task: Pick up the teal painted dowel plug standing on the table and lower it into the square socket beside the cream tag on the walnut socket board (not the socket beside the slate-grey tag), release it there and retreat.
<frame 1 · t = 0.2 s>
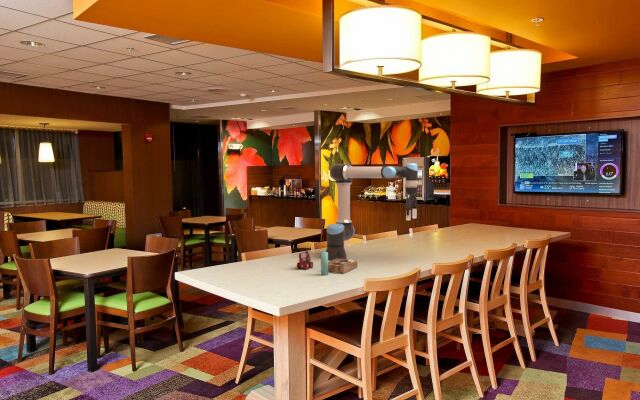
hand: (411, 219, 315), 28 cm above the table, fingers open, 13 cm apart
plug: (324, 274, 278), on the table
dark red rounded figure: (305, 268, 296), on the table
socket board: (340, 269, 292), on the table
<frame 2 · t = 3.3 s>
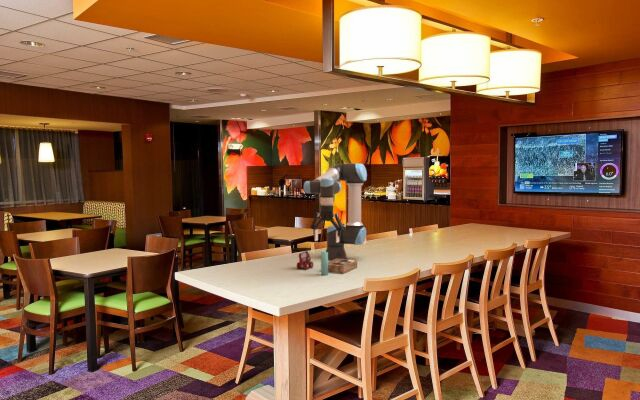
hand: (326, 241, 277), 19 cm above the table, fingers open, 13 cm apart
nothing on the table moved.
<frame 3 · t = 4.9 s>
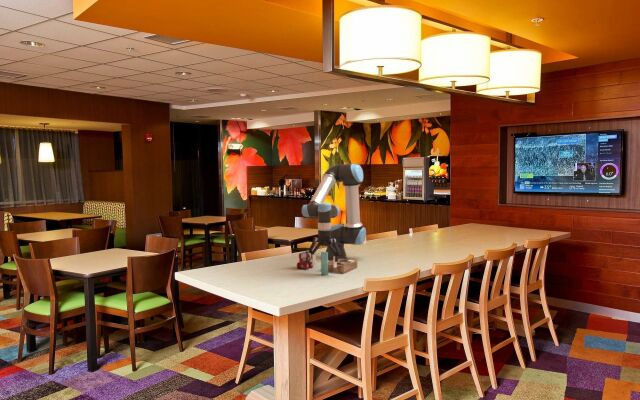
hand: (324, 266, 277), 5 cm above the table, fingers open, 13 cm apart
nothing on the table moved.
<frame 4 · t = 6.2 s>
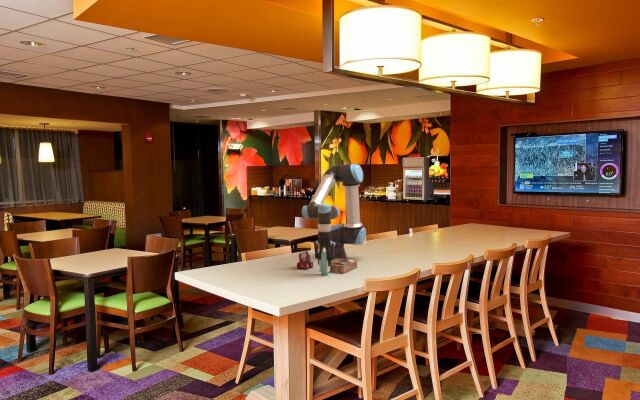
hand: (324, 271, 278), 2 cm above the table, fingers closed on plug, 4 cm apart
plug: (324, 274, 278), on the table, touching gripper
everything else where it was.
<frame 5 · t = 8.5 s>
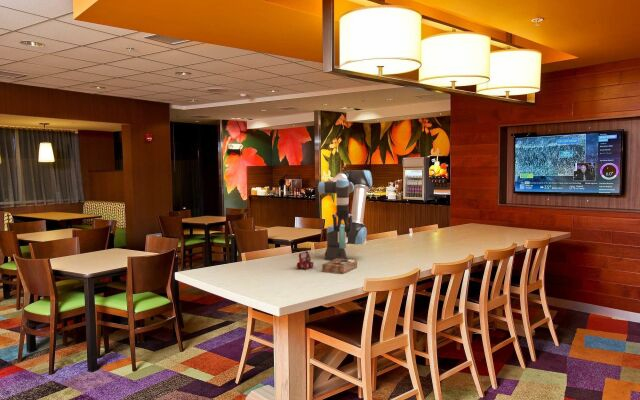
hand: (342, 242, 295), 16 cm above the table, fingers closed on plug, 4 cm apart
plug: (342, 247, 295), point 13 cm above the table, touching gripper
everything else where it was.
when the fingers open (6 cm above the table, at t = 10.7 s): plug stays where it is, resting on socket board.
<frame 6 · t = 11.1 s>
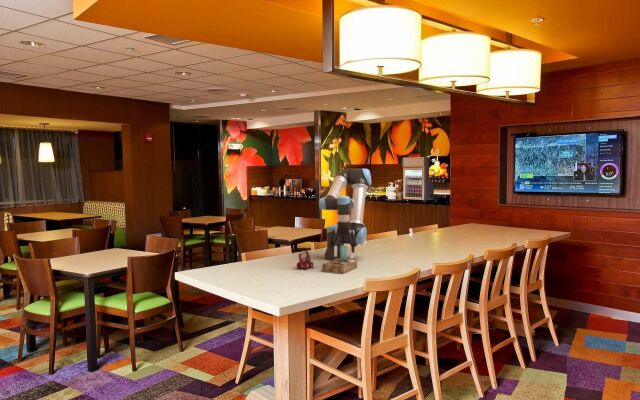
hand: (343, 257, 296), 7 cm above the table, fingers open, 10 cm apart
plug: (343, 266, 296), point 1 cm above the table, touching socket board
everything else where it was.
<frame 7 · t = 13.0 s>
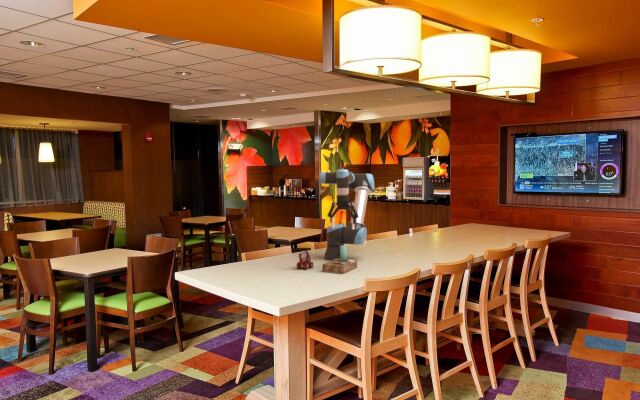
hand: (343, 228, 298), 24 cm above the table, fingers open, 13 cm apart
nothing on the table moved.
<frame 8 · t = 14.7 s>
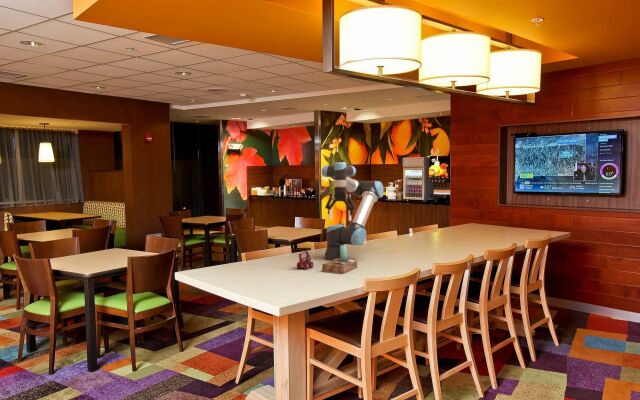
hand: (340, 220, 304), 29 cm above the table, fingers open, 13 cm apart
nothing on the table moved.
at the end: plug 0.1 cm from the target spot on the socket board, point 0.8 cm above the socket board's base; plug tilted 0°; the gripper is holding nothing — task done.
